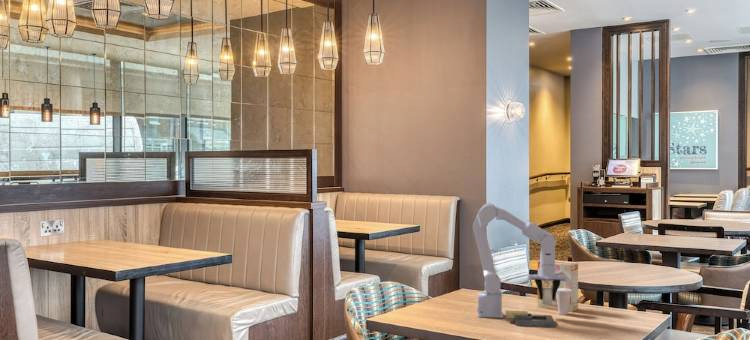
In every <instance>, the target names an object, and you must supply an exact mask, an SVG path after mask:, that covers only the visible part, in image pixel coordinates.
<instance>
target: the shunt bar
mask: <svg viewBox="0 0 750 340" xmlns="http://www.w3.org/2000/svg"><path fill="white" fill-rule="evenodd" d="M528 313H529V312H528V310H527V311H526V310H505V318H506V319H507V318H508V319H509V318H510V319H514V318H515V316H528Z"/></svg>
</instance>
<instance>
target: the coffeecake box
mask: <svg viewBox="0 0 750 340" xmlns="http://www.w3.org/2000/svg"><path fill="white" fill-rule="evenodd" d="M538 274H540V259H539V260H537V275H538ZM555 275H561V276H567V282H566V289H571V290H572V293H571V296H570V304H569V312H568V313H573V312H575V311H577V310H579V262H575V261H566V260H557V259H555ZM541 281H542V288H552V289H553V283H552V281H544V280H541ZM558 288H564V281H560V286H559V287H558ZM537 308H542V309H550V310H555V311H558V305H557V297H556V295H555V300H553V304H552V305H543V304H542V300H541V299H540V294H539V290H538V289H537Z"/></svg>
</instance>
